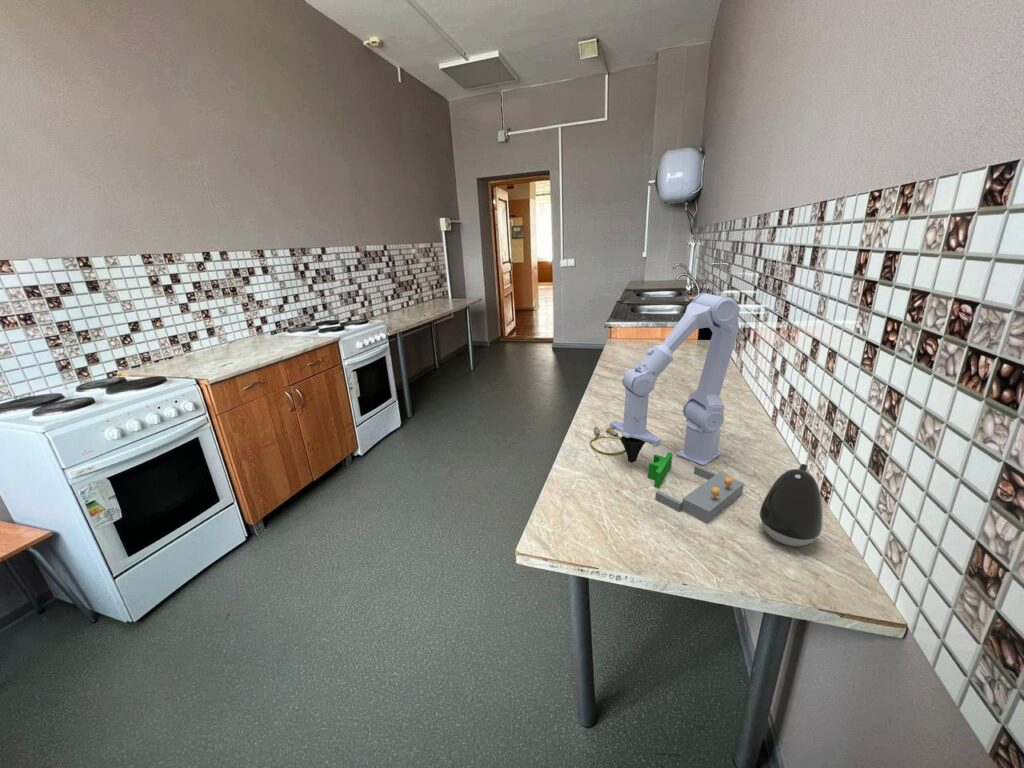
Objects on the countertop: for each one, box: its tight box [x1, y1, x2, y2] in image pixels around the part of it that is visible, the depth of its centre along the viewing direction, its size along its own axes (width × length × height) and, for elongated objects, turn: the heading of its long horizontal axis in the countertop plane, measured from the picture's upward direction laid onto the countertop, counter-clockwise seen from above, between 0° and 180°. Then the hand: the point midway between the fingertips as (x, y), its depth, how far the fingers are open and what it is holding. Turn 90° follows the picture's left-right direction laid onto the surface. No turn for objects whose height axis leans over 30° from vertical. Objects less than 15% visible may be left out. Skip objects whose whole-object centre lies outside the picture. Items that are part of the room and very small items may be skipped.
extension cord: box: [589, 426, 626, 456], centre depth 121 cm, size 12×16×2 cm
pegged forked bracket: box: [654, 464, 745, 524], centre depth 94 cm, size 18×12×6 cm, turn 128°
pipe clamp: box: [647, 451, 674, 489], centre depth 103 cm, size 11×4×5 cm, turn 145°
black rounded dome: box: [759, 463, 824, 547], centre depth 79 cm, size 10×10×15 cm
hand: (632, 460), depth 109 cm, fingers closed
